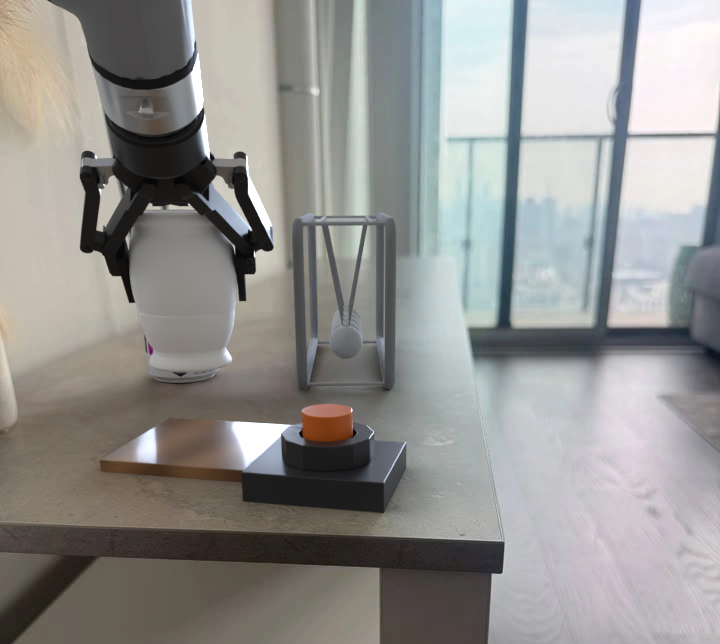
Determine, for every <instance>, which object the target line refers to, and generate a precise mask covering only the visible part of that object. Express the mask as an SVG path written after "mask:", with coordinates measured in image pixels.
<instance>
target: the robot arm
mask: <svg viewBox="0 0 720 644" xmlns="http://www.w3.org/2000/svg"><path fill="white" fill-rule="evenodd" d="M46 1H48V2H49V3H51V4H52V5H55V6H56V7H59V8H61V9H63V10H64V11H67V12H68V13H70V14H72V15H73V16H75V17H76V19H78V21H79V23H80V27H81V30H82V32H83V36H84V39H85V43H86V49H87V53H88V57H89V60H90V64H91V68H92V71H93V72H92V73H93V75H94V79H95V84H96V87H97V92H98V94H99V99H100V102H101V106H102V108H103V111H104V117H105V123H106V126H107V130H108V133H109V134H108V135H109V138H110V142H111V145H112V149H113V150H112V151H113V156H112V157H100V158H99V157H98V156H97V155H96V153H94V152H93V151H91V150H84V151H82V152H81V155H80V164H79V165H80V166H79V167H80V168H79V180H80V183H81V186H82V188H83V190H84V199H83V207H82V209H83V210H82V218H81V227H80V238H79V239H80V241H79V250H80V251H81V252H82V253H84V254H92V253H94V252H98V253H100V254H101V255H102V256H103V258H104V260H105V264H106V267H107V269H108V273H109V274H110V275H111V277H120V278H121V282H122V285H123V288H124V291H125V294H126V297H127V301H128V304H136V303H135V300H134V297H133V293H132V288H131V282H130V274H129V244H128V241H127V236H128V235H129V233H130V232H131V228H132V227H133V225H134V223H135V222H136V220H137V218H138V217H139V216H142V214H143V213H144V211H145V210H147V208H148V206H149V204H151V205H152V207H165V206H170V205H171V206H174V207H175V206H177V207H190V206H191V208H192V209H193V210H196V211H197V212H198V213H199V214H200V215H201V216H203V215H205V216H206V217H207V218H208V219H209V220H210V221H211V222H212V223H213V224H214V225H215V226H216V227H217V228H218V229H219V230H220V231H221V232H222V233H223V234H224V235H225V237H226V238H227V239H228V240H229V241H230V242H231V243H232V244H233V247H234V252H235V262H236V273H237V295H238V302H247V281H246V280H247V277H246V275H255V274H256V272H257V260H256V259H257V257H256V253H257V252H258V251H260V250H262V251H263V252H267V253H268V252H272V251H273V250H274V248H275V245H274V228H273V224H272V222H271V220H270V218H269V216H268V213H267V212H266V210H265V208H264V205H263V203H262V201H261V198H260V196H259V194H258V192H257V190H256V188H255V186H254V184H253V181H252V179H251V177H250V175H249V164H248V163H249V159H248V155H247V154H246V153H245V152H244V151H241V150H240V151H236V152H234V153H233V154H232V155H233V156H232V158H218V157H217V158H216V156H215V154H213V152H212V151H211V149H210V147H209V139H208V130H207V129H208V128H207V121H206V113H205V107H204V104H203V103H204V94H203V87H202V76H201V66H200V58H199V50H198V46H197V40H196V34H195V25H194V23H195V22H194V13H193V6H192V0H46ZM217 176H219V177H220V178H222V179H223V181H224V183H225V184H226V185H227V187H228V189H230V190H233V193H234V196H235V199H236V202H237V204H238V206H239V208H240V210H241V211H242V213H243V216H244V217H245V219H243V218H242V216H241V215H240V214H239V213H238V212H237V211H236V209H234V208H233V207H232V205H230V203H229V202H228V201H227V200H226V199H225V198H224V197H223V196H222V194H220V192H218V190H217V189H216V187H215V185H214V182H213V181H214V180H215V179H216V177H217ZM111 177H114V178H116V179H117V180H118V181H119V182H120V183H122V184H123V185H124V186H125V187H126V190H125V191H124V193H123V195H122V197H121V199H120V201H119V202H118V204H117V206H116V208H115V210H114V211H113V213H112V215H111V217H110V219H108V222H107V223H106V225H105V224H103V226H102V231H101V230H98V229H97V228H98V220H99V213H100V206H101V205H100V204H101V195H102V190H104V189H105V186H107V185H108V184H109V179H110V178H111ZM245 220H246V221H247V222H246V221H245Z"/></svg>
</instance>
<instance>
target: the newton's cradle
mask: <svg viewBox="0 0 720 644" xmlns="http://www.w3.org/2000/svg"><path fill="white" fill-rule="evenodd" d="M372 219H373V220H374V219H375V220H374V221H373V220H372ZM291 225H292V226H291V246H292V248H291V249H292V276H293V277H292V279H293V298H294V299H293V302H294V304H293V305H294V330H295V331H294V332H295V333H294V334H295V358H296V360H295V361H296V362H295V363H296V381H297V386H298V389H300V390H302V391H306V390H307V389H308V387H361V386H362V387H366V386H369V387H371V386H373V387H375V386H379V387H380V386H384V388H385V389H387V390H392V389H393V388H394V386H395V383H396V382H395V380H396V325H397V324H396V317H397V316H396V314H397V222H396V219H394V218H393V217H392V216H389V215H388V214H386V213H384V212H378V213H377V214H376V215H374V214H373V215H370V214H369V215H366V214H365V215H315V214H314V213H313V212H309V213H306V214H304V215H301V216H299V217H297V218H295V219H293V221H292V223H291ZM318 226H319V227H321V229H322V234H323V238H324V243H325V247H326V253H327V257H328V258H327V259H328V262H329V268H330V273H331V277H332V283H333V287H334V293H335V298H336V302H337V307H338V309H337V310H336V311H335V312H334V314H333V316H332V323H331V328H330V330H331V331H330V336H329V337H330V338H329V340H319V307H318V306H319V304H318V303H319V301H318V269H317V267H318V266H317V263H318V262H317V227H318ZM329 226H330V227H336V226H337V227H339V226H341V227H342V226H343V227H344V226H345V227H346V226H348V227H349V226H352V227H353V226H358V227H359V226H362V228H361V233H360V238H359V245H358V249H357V256H356V261H355V268H354V274H353V279H352V283H351V291H350V295H349V300H348V301H349V302H348V304H345V302H344V297H343V293H342V287H341V283H340V278H339V272H338V268H337V263H336V257H335V252H334V248H333V242H332V238H331V237H332V236H331V232H330V228H329ZM368 226H375V339H374V340H364V339H363V334H362V322H361V317H360V316H361V315H360V314H359V312H358V311H357V310H356V309H355V308H354V303H355V297H356V292H357V286H358V280H359V275H360V270H361V264H362V258H363V253H364V247H365V240H366V235H367V232H368V231H367V229H368ZM305 227H307V258H308V259H307V262H308V263H307V264H308V293H309V296H308V298H309V331H310V332H309V334H310V335H309V343H308V344H307V322H306V321H307V316H306V313H307V312H306V286H305V254H304V253H305V252H304V250H305V249H304V248H305V247H304V228H305ZM318 344H319V345H321V344H326V345H327V344H329V347H330V350H331V351H332V353H333V354H334V355H335V356H336V357H338V358H340V359H344V360H349V359H353V358H354V357H356V356H357V355H358V354H359V353H360V352H361V350H362V348H363V344H376V348H377V354H378V361H379V367H380V371H381V377H382V381H334V382H333V381H328V382H327V381H325V382H323V381H321V382H319V381H318V382H315V381H314V382H310V381H311V376H312V371H313V367H314V363H315V358H316V353H317V349H318ZM307 345H308V348H307Z"/></svg>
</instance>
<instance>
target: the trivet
mask: <svg viewBox="0 0 720 644" xmlns="http://www.w3.org/2000/svg"><path fill="white" fill-rule="evenodd" d="M292 425H293V424H281V423H263V422H248V421H231V420H213V419H212V420H211V419H200V418H199V419H196V418H180V417H178V418H177V417H169V418H167V419H165V420H164V421H162V422H160V423H159V424H157V425H155V426H153V427H152V428H150V429H148V430H147V431H145V432H143V433H142V434H141V435H139V436H137V437H135V438H134V439H132V440H130V441H129V442H127V443H125V444H123V445H121V446H120V447H118V448H117V449H115V450H114V451H112V452H110V453H109V454H107V455H105V456H104V457H102V458H100V459H99V467H100V472H103V473H117V474H129V475H141V476H142V475H143V476H156V477H167V478H178V479H179V478H180V479H181V478H182V479H192V480H193V479H194V480H205V481H206V480H207V481H219V482H234V483H242V480H241V472H242V471H243V470H244V469H246V468H247V467H248V466H249V465H250V464H251V463H252V462H253V461H254V460H255V459H256V458H257V457H259V456H260V455H261V454H262V453H263V452H264V451H265V450H266V449H267V448H268V447H269V446H270V445H272V444H273V443H274V442H275V441H276V440H277V439H278V438H279V437H280V436H281V433H282V432H283V431H284V430H285V429H286V428H287V427H289V426H292Z"/></svg>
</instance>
